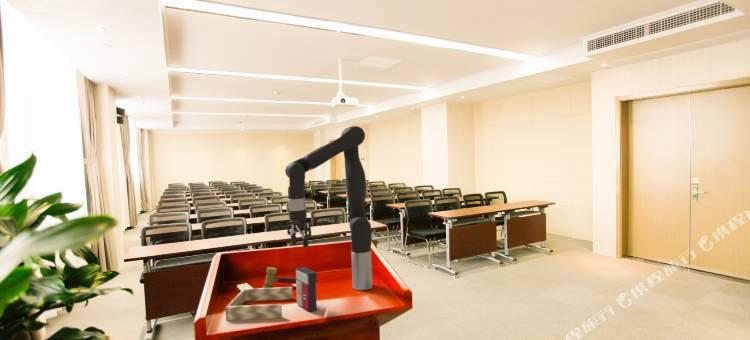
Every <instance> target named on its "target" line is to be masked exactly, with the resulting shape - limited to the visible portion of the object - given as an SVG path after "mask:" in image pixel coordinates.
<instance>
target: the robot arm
mask: <svg viewBox="0 0 750 340" xmlns="http://www.w3.org/2000/svg"><path fill="white" fill-rule="evenodd" d="M365 138H366V133H365V131H364V129H363V128H362V127H360V126H357V125H354V126H353V125H352V126H348V127H346V128H344V129H343V130H342V132H341V134H340V136H339V137H338V138H336V139H335V140H332V141H331V142H328V143H325V145H321V146H320V147H318V148H316V149H314V150H313V151H311V152H309V153H307V154H306V155H304V156H303V157H300V158H298V159H297V160H294V161H292V162H290V163H289V164H287V165H286V167H285V169H284V170H285V173H284V174H285V176H287V177H288V182H289V185H288V188H287V195H288V196H287V197H288V201H287V202H288V203H287V205H288V219H289V221H287V222H286V232H287V235H288V236H290V239H291V240H290V243H291V245H292V246H295V245H297V244H298V243H297V233H299V235H301V237H302V248H308V247H309V238H311V237H312V227H311V222H306V219H307V218H308V217H307V216H308V215H307V200H306V195H305V193H306V192H305V184H306V183H305V182H306V181H305V180H306V173H307V172H309V171H310V170H311V171H312V170H314V169H316V168H318V167H320V166H321V165H323V164H325V163H326V162H329V160H331V159H333V158H334V157H335V156H336V157H337V155H339V154H342V153H343V156H344V169H345V185H346V192H347V198H348V203H349V230H350V233H351V234H350V235H351V237H350V238H351V245H350V252H351V253H350V254H351V257H350V258H351V274H352V275H351V277H352V289H354V290H355V291H356V290H357V291H368V290H372V289H373V271H372V269H373V268H372V266H373V265H372V224H371V222H370V221H369V220H368V218H367V217H368V216H367V213H366V212H367V211H366V195H367V181H366V173H365V170H364V167H363V165H362V161H361V158H360V153H359V146H361V144H363V142H364V141H365Z"/></svg>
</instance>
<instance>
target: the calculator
mask: <svg viewBox="0 0 750 340" xmlns="http://www.w3.org/2000/svg"><path fill="white" fill-rule="evenodd" d="M295 278H296V279H297V280H296V284H295V288H296V289H295V292H296V304H297V305H298V306H300V307H301V308H303V309H305V310H306V311H308V312H314V311H316V310H317V309H318V308H317V307H318V306H317V289H316V287H317V282H318V281H317V280H318V278H317V272H316V271H313V270H312V269H309V268H307V267H305V266H303V267H299V268H298V267H297V268H296V269H295Z"/></svg>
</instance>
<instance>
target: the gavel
mask: <svg viewBox="0 0 750 340" xmlns="http://www.w3.org/2000/svg"><path fill="white" fill-rule="evenodd" d="M277 272H278V269H277V267H272V266H269V267H268V266H267V268H266V275H265V280H264V284H263V286H262V288H275V287H274V284H275V283H280V284H281V283H282V284H293V285H296V280H297V279H296V277H295V278H294V277H283V276H276V274H277Z"/></svg>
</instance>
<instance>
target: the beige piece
mask: <svg viewBox="0 0 750 340" xmlns="http://www.w3.org/2000/svg"><path fill="white" fill-rule="evenodd" d="M292 299H293V287H292V286H285V287H283V286H281V287H274V288H263V287H260V288H258V287H256V288H242V289H241V291H240V292H239V293H238V294H236V296H235V297H234V298H233V299H232V300H231V301H230V302H229V303H228V304H227V305H226V306H225V307H224V308H225V320H226V321H238V320H239V321H241V320H242V321H243V320H245V321H246V320H265V319H267V320H268V319H282V318H283V309H282V303H276V304H274V303H273V304H272V303H271V304H251V305H250V304H249V305H247V304H246V305H245V304H244V303H245V302H246V301H247V302H248V301H249V302H250V301H252V302H253V301H259V302H260V301H279V300H280V301H281V300H283V301H284V300H292Z"/></svg>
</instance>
